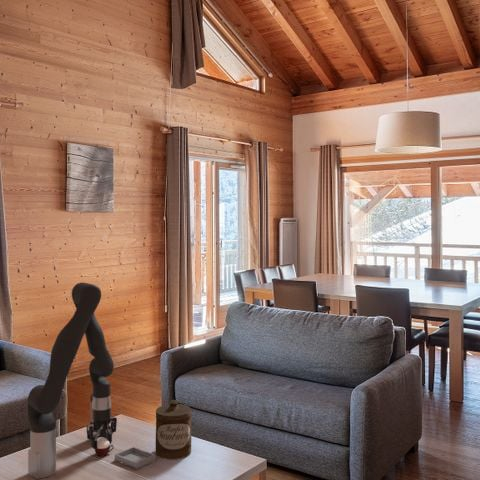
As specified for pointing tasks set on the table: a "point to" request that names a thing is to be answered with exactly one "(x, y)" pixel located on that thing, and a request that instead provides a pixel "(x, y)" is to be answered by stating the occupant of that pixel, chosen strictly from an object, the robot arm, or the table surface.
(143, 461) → the tray
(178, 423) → the labeled brown tin
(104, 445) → the cocoa
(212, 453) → the table surface
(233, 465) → the table surface
